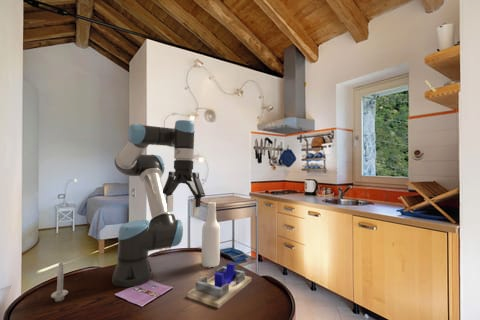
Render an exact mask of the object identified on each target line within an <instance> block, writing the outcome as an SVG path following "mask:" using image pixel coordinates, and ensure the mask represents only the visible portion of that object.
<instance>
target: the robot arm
mask: <svg viewBox="0 0 480 320" xmlns="http://www.w3.org/2000/svg"><path fill="white" fill-rule="evenodd" d="M174 123H175V124H174V128H171V127H165V126H164V127H162V126H155V125H154V126H151V125H146V124H142V123H141V124H140V123H139V124H136V123H134V124H130V125H129V127H128V130H127V140H128V141H127V143H126V144H125V145H124V147H123V148H122V151H120V152H118V153H117V154H116V156H115V158H114V166H115V168H116V169H117V171H119V172H120V173H121V174H123V175H124V176H128V177H139V180H140V181H141V182H142V183H143V185H144V189H145V194H146V197H147V203H148V206H149V211H150V217H151V219H150V220H148V219H136V220H132V221H129V222H126V223H123V224H122V225H121V226H120V227H119V229H118V230H119V231H118V236H117V240H118V243H117V244H118V245H117V263H116V264H115V265H116V266H115V268H114V271H113V273H112V280H111V282H112V284H113V285H115V286H116V287H119V288H120V287H122V288H129V287H136V286H140V285H142V284H144V283H147V282H149V281H150V280H151V279H152V273H153V272H152V271H153V270H152V267H151V264H150V261H149V252H150V251H151V252H152V251H157V250H163V249H168V248H173V247H176V246H179V245H180V244H181V242H182V239H183V234H184V226H183V222H182V221H181V219H176V215H175V214H174V213H172V212H174V194H173V193H174V192H175V190H176V189H177V187H179V185H180V184H185V185H187V187H188V189H189V190H190V192H191V193H192V195H193V198H192V217H196V216H199V214H200V208H201V200H202V198H204V197H206V194H205V191H204V188H203V185H202V183H201V179H200V173H199V172H198V171H197V172H196V171H195V172H193V170H194V161H193V160H194V157H195V156H194V155H195V154H194V153H195V152H194V149H195V148H194V147H195V146H194V145H195V123H194V122H193V121H191V120H187V119H185V120H184V119H181V120H180V119H179V120H176V121H175V122H174ZM149 145H151V146H166V147H170V148H174V154H173V155H174V156H173V158H174V159H175V160H174V161H173V169H174V170H173V171H168V176H167V178H166V181H165V184H163V182H162V177H163V175H164V173H165V163H164V159H163V157H161V156H160V155H157V154H143V152H144V151H145V150H147V148H148V146H149ZM163 185H164V186H163Z"/></svg>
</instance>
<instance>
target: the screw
mask: <svg viewBox="0 0 480 320" xmlns="http://www.w3.org/2000/svg"><path fill="white" fill-rule="evenodd" d="M64 271H65V269H64V262H62V261H60V262H59V263H58V270H57V272H56V273H57V275H56V276H57V280H56V281H57V282H56V283H57V284H56V291H54V292H52V293H51V295H50V297H51V298H53V299H54V301H55V302H56V303H57V302H62V301H63V300H65V296H66V295H68V294H69V291H68V290H67V289H64V274H65V272H64Z"/></svg>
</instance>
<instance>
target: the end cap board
mask: <svg viewBox="0 0 480 320" xmlns="http://www.w3.org/2000/svg"><path fill="white" fill-rule="evenodd" d="M226 269H227V266H225V265H224V266H223V265H222V266H221V267H219V268H217V269H216V270H215V273H222V272H223V271H224V270H226ZM215 273H214V274H215ZM252 279H253V278H252V276H247V275H246V271H243V270H241V269H240V270H239V269H236V268H235V279H234V280H233V281H232V282H231V283H230V284H228V283H226V284H225V285H223V286H222V287H217V286H215V275H213V276H212V277H210V278H209V279H208V276H204V277H201V279H199V280H197V281H195V286H194V288H192V289H191V290H189V291H187V292H186V297H187V298H189V299H191V300H194V301H197V302H200V303H203V304H205V305H208V306H211V307H214V308H215V309H216V308H217V309H220V308H221V307H222V306H223V305H224V304H226V303H228V301H230V300H231V299H232V298H233V297H234V296H235V295H237V294H238V293H239V292H240V291H241V290H242V289H244V288H245V287H246V286H248V284H249V283H251V282H252Z"/></svg>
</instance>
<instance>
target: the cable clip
mask: <svg viewBox="0 0 480 320" xmlns="http://www.w3.org/2000/svg"><path fill="white" fill-rule="evenodd" d="M226 267H227V269H226V270H224V271H223V272H222V273H214V276H215V286H217V287H222V286H223V285H225V284H226V283H228V284H230V283H231V282H232V281H233V280H234V279H235V269H236V264H235V263H231V262H227V264H226Z"/></svg>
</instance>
